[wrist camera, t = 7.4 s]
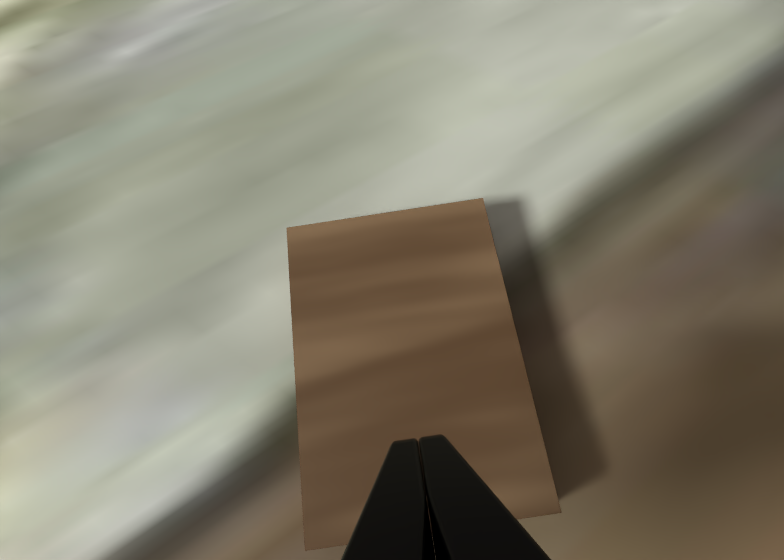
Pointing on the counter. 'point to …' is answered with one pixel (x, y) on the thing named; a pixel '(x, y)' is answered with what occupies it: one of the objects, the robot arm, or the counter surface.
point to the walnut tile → (407, 360)
